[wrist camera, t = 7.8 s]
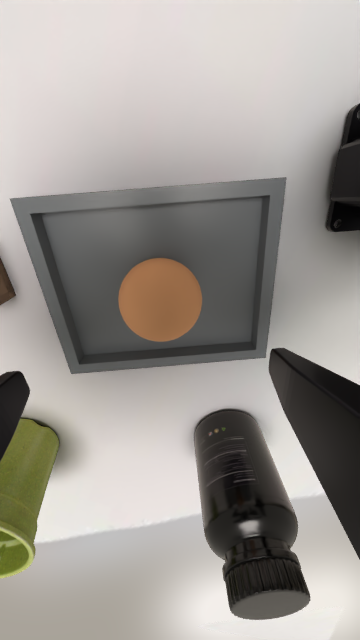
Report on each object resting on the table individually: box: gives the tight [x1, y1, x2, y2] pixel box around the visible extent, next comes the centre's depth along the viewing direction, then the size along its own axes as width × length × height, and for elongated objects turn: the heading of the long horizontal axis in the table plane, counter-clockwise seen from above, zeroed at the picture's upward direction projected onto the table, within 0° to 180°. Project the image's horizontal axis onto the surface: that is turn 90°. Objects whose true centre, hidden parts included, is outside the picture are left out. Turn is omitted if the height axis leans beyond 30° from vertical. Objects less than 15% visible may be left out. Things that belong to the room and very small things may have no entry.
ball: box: [118, 258, 202, 342], centre depth 14 cm, size 5×5×5 cm
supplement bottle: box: [194, 410, 310, 620], centre depth 19 cm, size 7×7×12 cm
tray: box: [10, 177, 286, 374], centre depth 16 cm, size 15×12×2 cm
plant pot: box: [0, 419, 59, 578], centre depth 20 cm, size 9×9×9 cm
